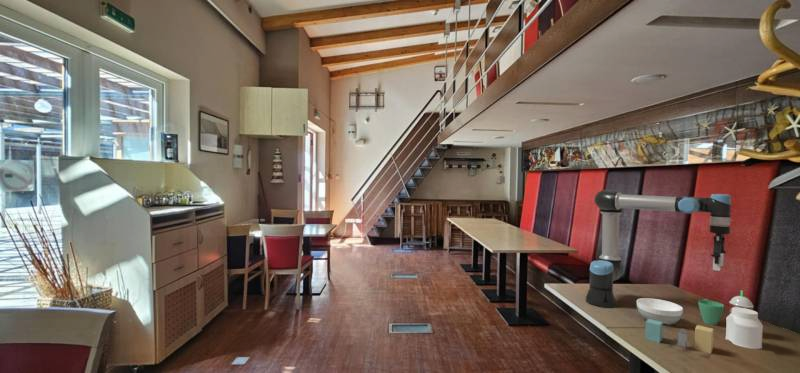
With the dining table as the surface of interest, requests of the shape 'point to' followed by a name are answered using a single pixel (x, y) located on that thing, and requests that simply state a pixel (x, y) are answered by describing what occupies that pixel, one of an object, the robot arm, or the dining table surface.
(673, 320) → the bowl
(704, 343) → the pale yellow block
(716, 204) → the robot arm
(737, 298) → the smoothie
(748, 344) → the jar
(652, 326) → the teal rectangular block
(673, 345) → the board
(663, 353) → the dining table surface
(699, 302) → the mug
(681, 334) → the post
